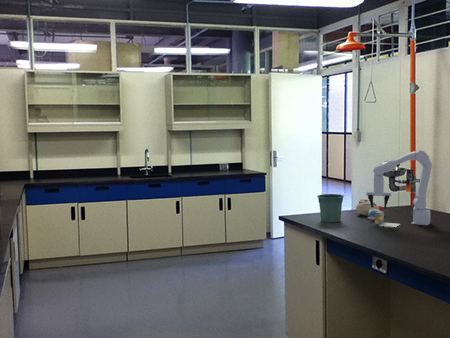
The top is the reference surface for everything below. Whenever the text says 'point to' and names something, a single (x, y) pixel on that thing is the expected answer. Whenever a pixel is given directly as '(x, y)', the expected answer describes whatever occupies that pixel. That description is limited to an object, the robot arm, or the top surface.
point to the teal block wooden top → (379, 217)
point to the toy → (368, 208)
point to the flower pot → (330, 207)
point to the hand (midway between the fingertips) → (378, 207)
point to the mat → (389, 225)
